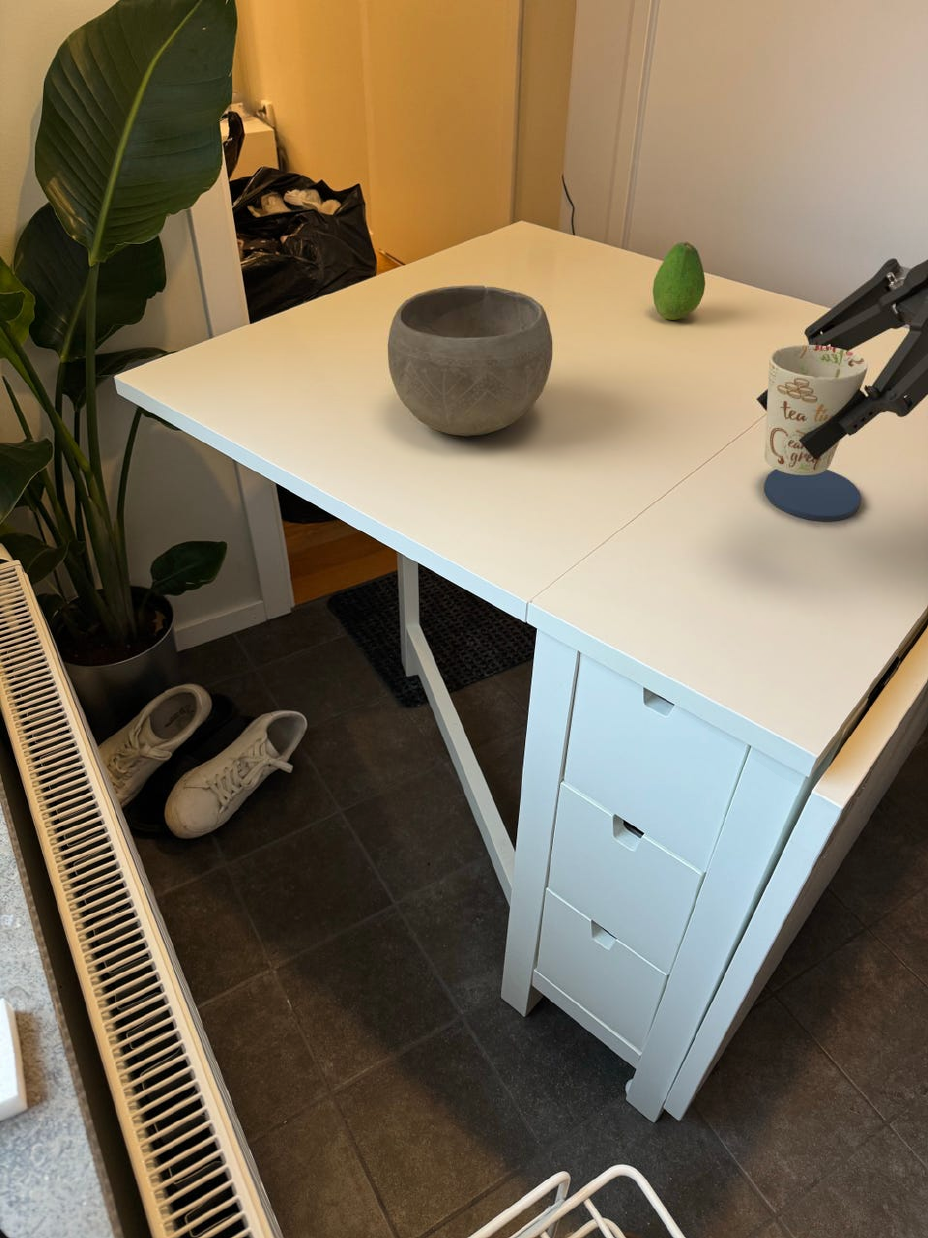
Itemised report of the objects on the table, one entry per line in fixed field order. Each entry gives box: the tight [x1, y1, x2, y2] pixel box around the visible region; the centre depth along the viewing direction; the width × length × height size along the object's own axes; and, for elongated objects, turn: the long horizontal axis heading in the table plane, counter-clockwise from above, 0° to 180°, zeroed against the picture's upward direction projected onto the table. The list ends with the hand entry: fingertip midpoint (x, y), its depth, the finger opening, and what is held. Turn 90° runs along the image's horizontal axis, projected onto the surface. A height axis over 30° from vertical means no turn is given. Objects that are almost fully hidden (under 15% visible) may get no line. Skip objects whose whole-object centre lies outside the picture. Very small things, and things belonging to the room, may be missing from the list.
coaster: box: [763, 468, 862, 522], centre depth 106 cm, size 11×11×1 cm
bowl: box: [387, 285, 553, 437], centre depth 114 cm, size 21×21×15 cm
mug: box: [764, 344, 869, 475], centre depth 84 cm, size 8×13×10 cm, turn 133°
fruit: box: [652, 241, 706, 321], centre depth 141 cm, size 8×8×12 cm
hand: (785, 428), depth 84 cm, fingers closed on mug, 7 cm apart
